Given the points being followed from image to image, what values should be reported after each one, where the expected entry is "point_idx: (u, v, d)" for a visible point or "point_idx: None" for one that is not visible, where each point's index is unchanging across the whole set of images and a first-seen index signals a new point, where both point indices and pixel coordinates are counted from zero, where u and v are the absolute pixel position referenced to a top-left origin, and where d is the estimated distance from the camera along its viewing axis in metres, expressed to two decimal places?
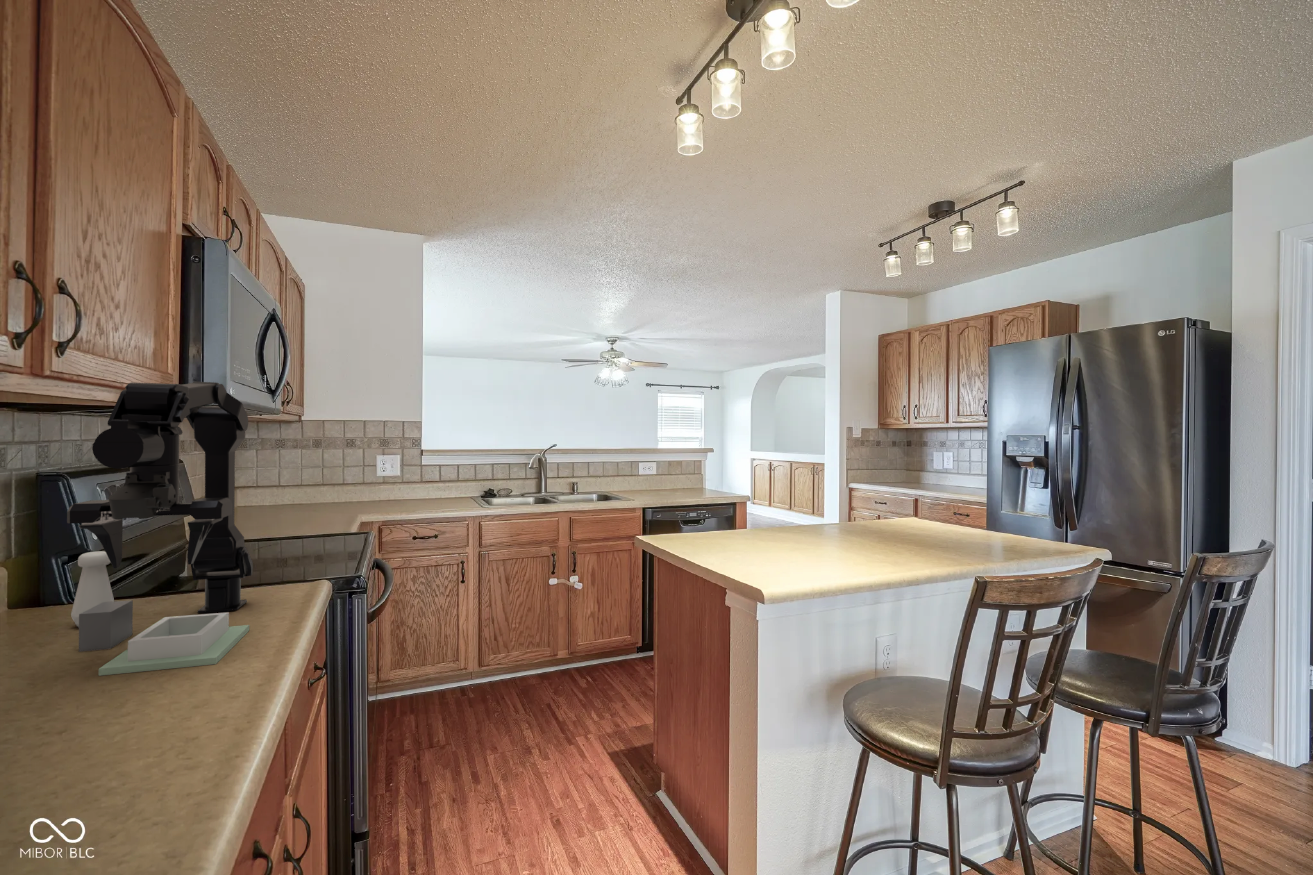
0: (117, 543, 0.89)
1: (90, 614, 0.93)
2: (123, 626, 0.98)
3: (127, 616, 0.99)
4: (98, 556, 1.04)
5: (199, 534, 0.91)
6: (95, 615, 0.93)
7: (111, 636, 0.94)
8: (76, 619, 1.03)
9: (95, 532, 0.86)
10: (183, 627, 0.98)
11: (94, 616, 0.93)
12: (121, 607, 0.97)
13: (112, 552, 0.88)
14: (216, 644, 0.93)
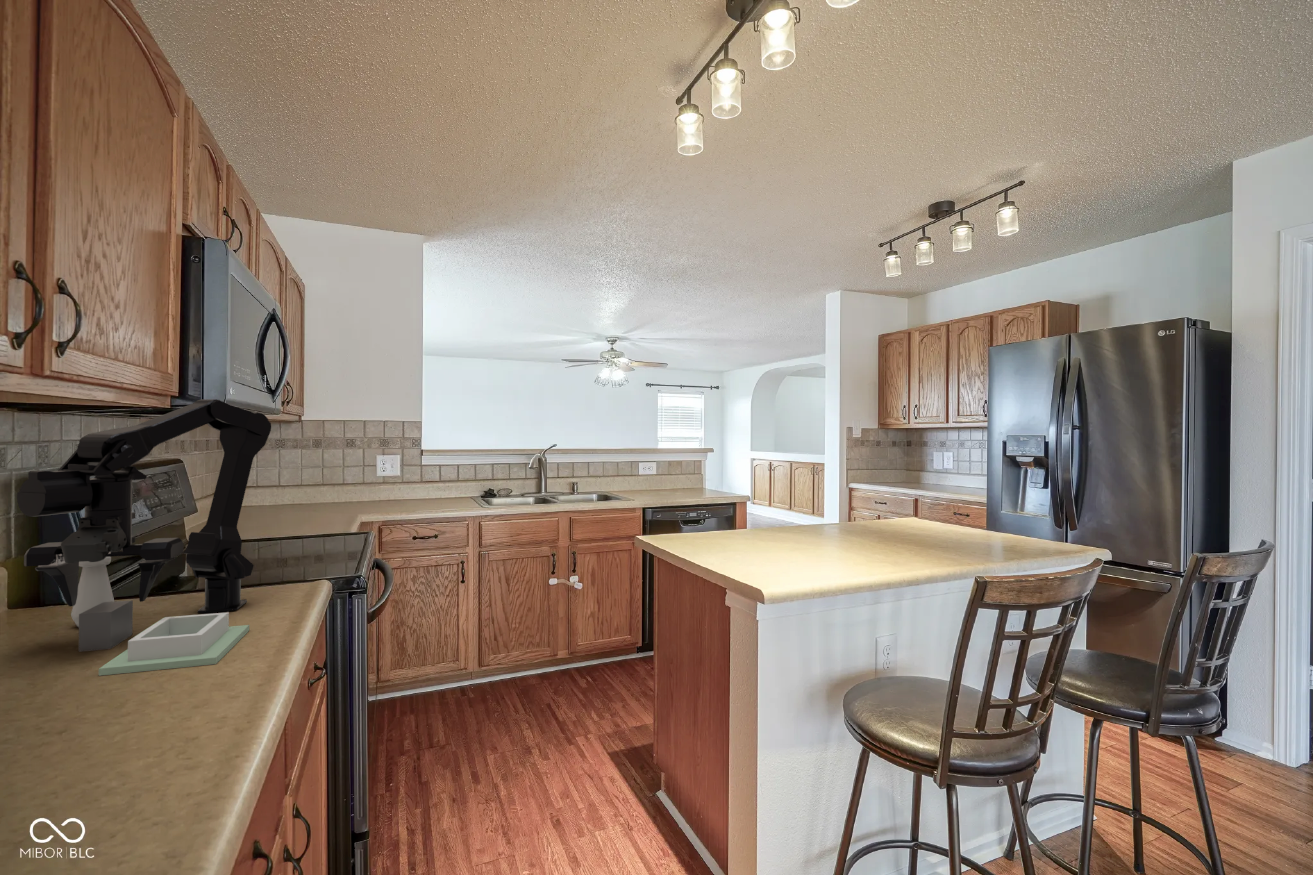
0: (73, 583, 0.95)
1: (90, 614, 0.93)
2: (123, 626, 0.98)
3: (127, 616, 0.99)
4: None
5: (150, 573, 0.97)
6: (95, 615, 0.93)
7: (111, 636, 0.94)
8: (76, 619, 1.03)
9: (51, 573, 0.93)
10: (183, 627, 0.98)
11: (94, 616, 0.93)
12: (121, 607, 0.97)
13: (67, 591, 0.94)
14: (216, 644, 0.93)
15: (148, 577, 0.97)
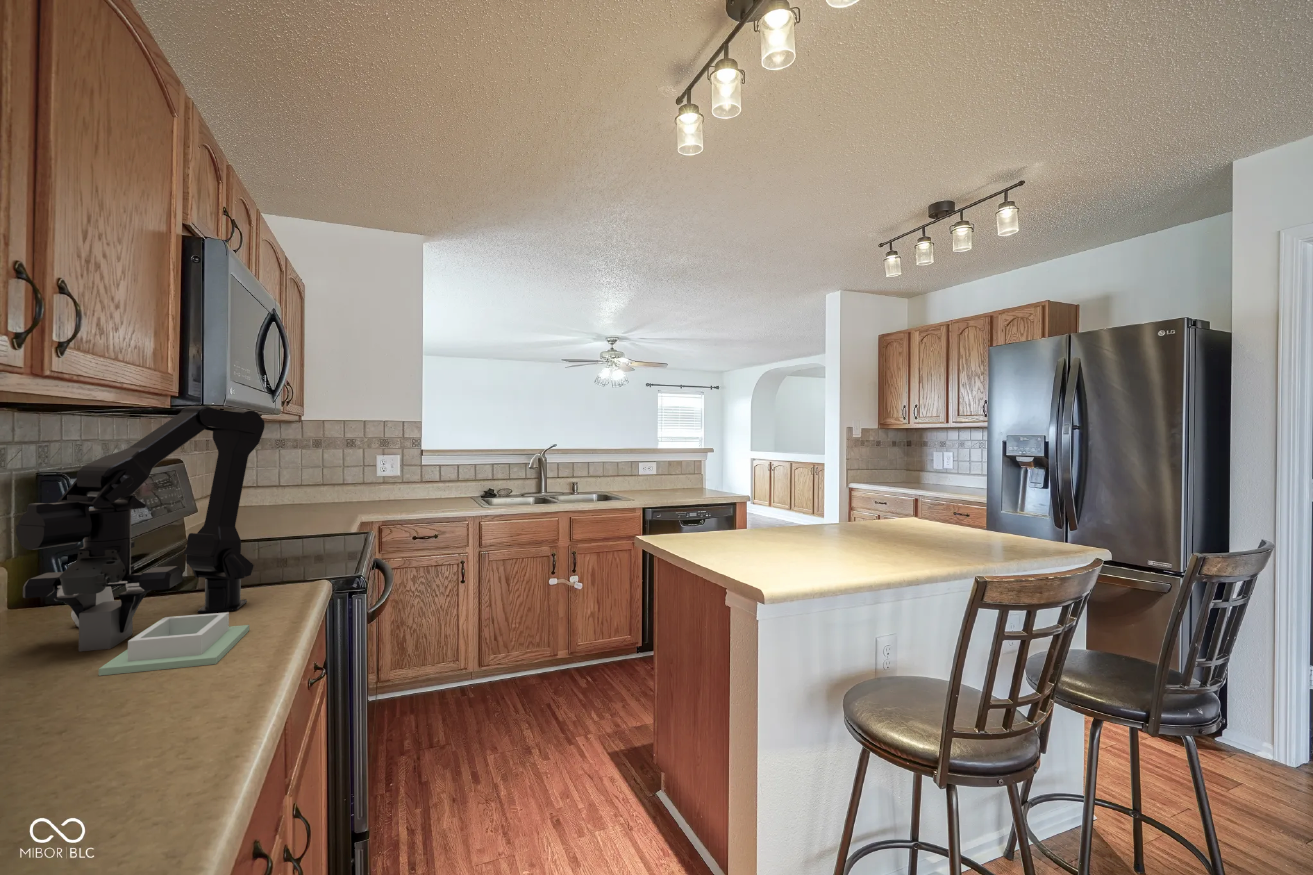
0: None
1: (90, 613, 0.93)
2: None
3: None
4: None
5: (131, 604, 0.97)
6: (95, 614, 0.93)
7: (111, 636, 0.94)
8: (76, 619, 1.03)
9: (69, 603, 0.93)
10: (183, 627, 0.98)
11: (94, 616, 0.93)
12: None
13: None
14: (216, 644, 0.93)
15: (129, 608, 0.97)
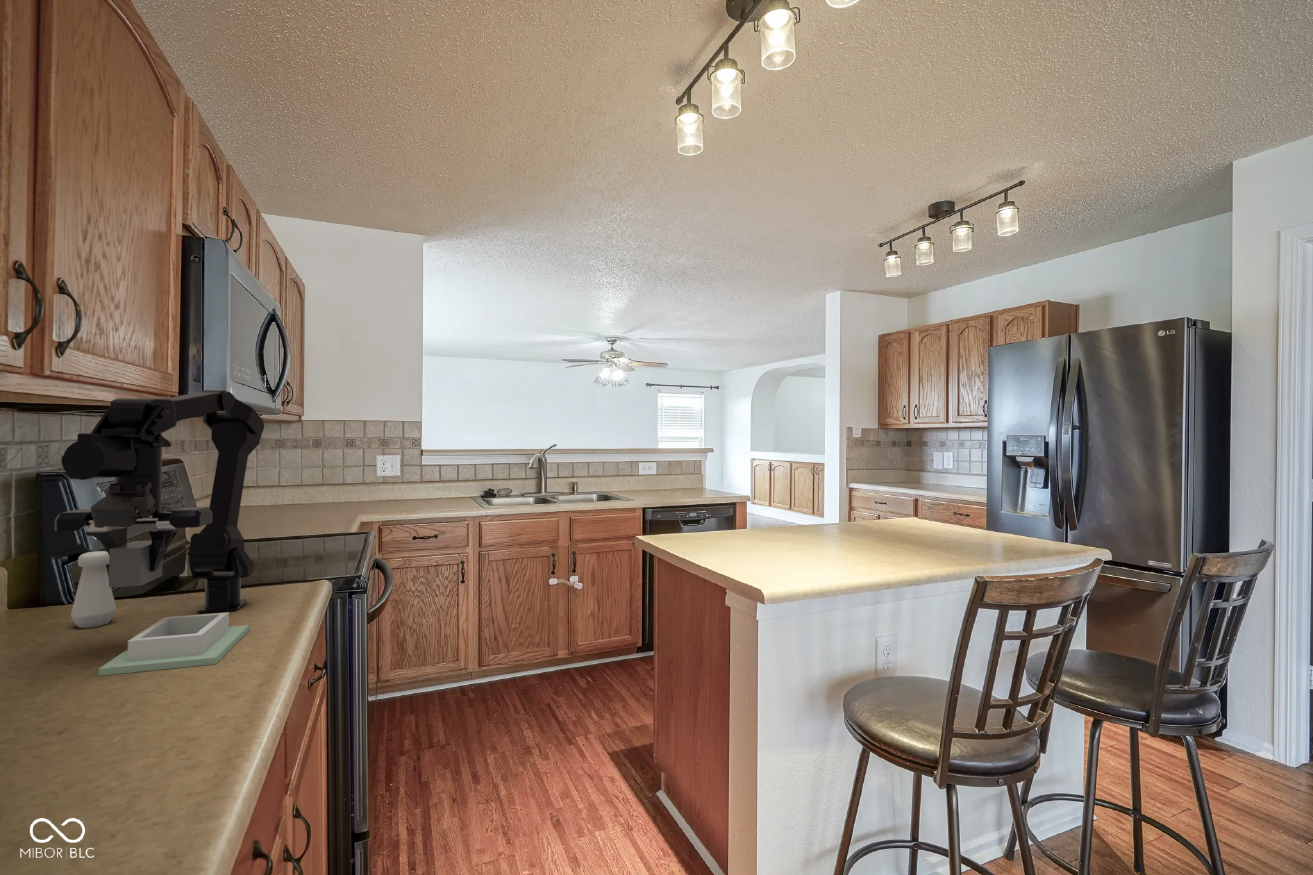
0: None
1: (120, 549, 0.92)
2: None
3: None
4: (98, 556, 1.04)
5: (161, 542, 0.95)
6: (125, 550, 0.92)
7: (141, 573, 0.93)
8: (76, 619, 1.03)
9: (100, 539, 0.92)
10: (183, 627, 0.98)
11: (124, 552, 0.92)
12: None
13: None
14: (216, 644, 0.93)
15: (159, 546, 0.95)
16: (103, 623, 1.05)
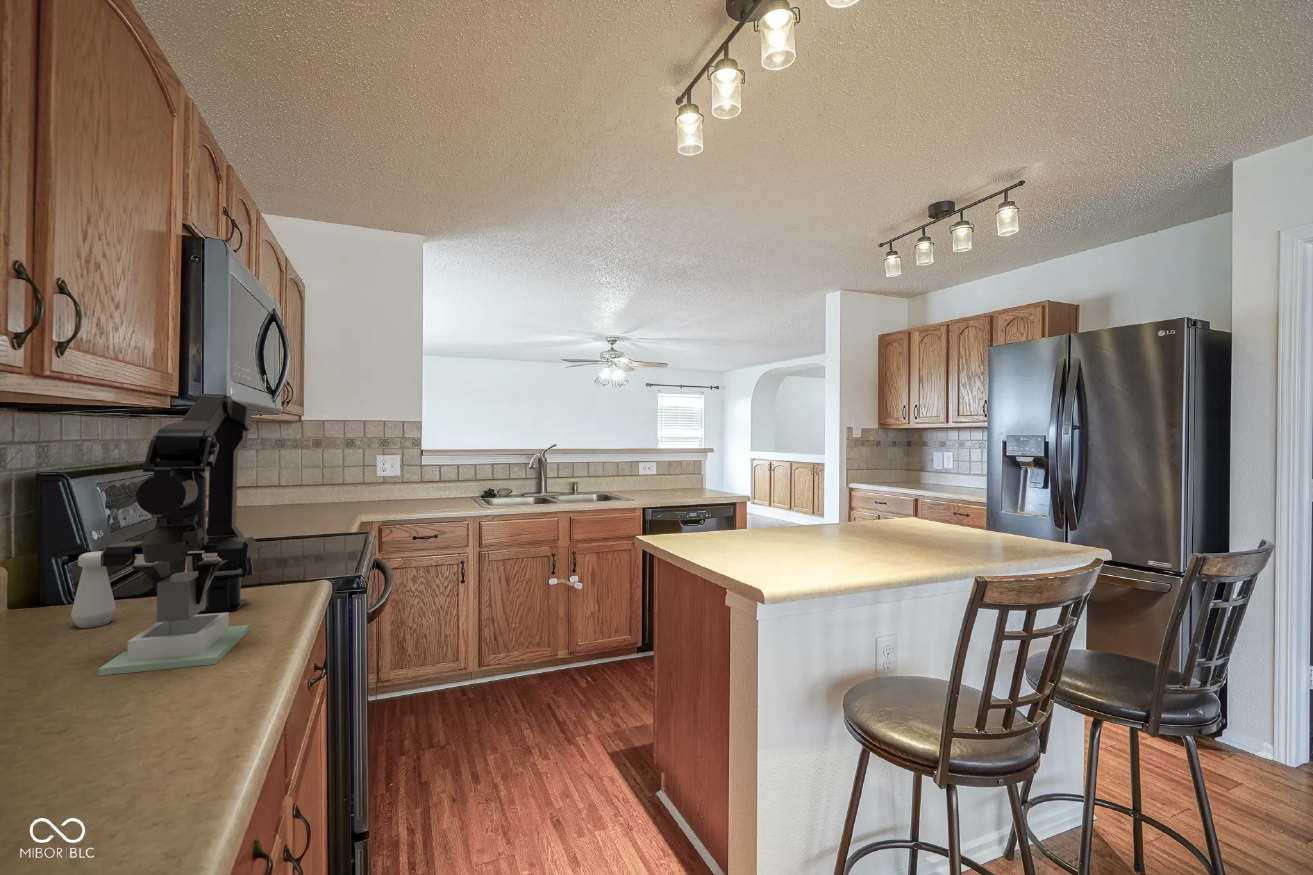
0: None
1: (168, 583, 0.90)
2: None
3: None
4: (98, 556, 1.04)
5: (207, 575, 0.93)
6: (173, 584, 0.90)
7: (189, 607, 0.91)
8: (76, 619, 1.03)
9: (146, 573, 0.90)
10: (183, 627, 0.98)
11: (172, 586, 0.90)
12: (197, 577, 0.94)
13: None
14: (216, 644, 0.93)
15: (205, 579, 0.93)
16: (103, 623, 1.05)
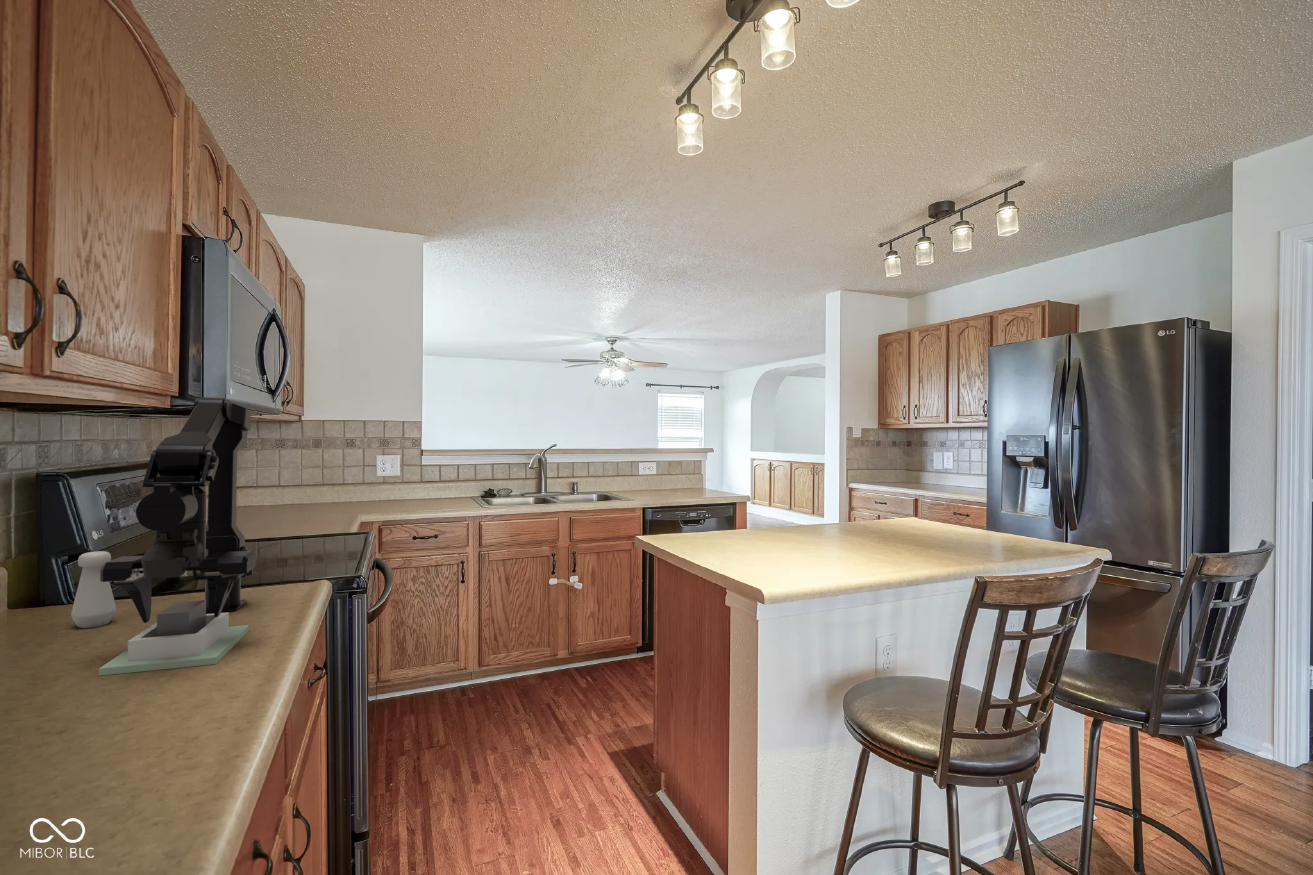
0: (147, 598, 0.92)
1: (168, 614, 0.90)
2: (198, 627, 0.95)
3: (201, 616, 0.96)
4: (98, 556, 1.04)
5: (225, 588, 0.94)
6: (173, 615, 0.90)
7: None
8: (76, 619, 1.03)
9: (126, 589, 0.89)
10: None
11: (171, 617, 0.90)
12: (197, 607, 0.94)
13: (142, 607, 0.91)
14: (216, 644, 0.93)
15: (223, 592, 0.94)
16: (103, 623, 1.05)
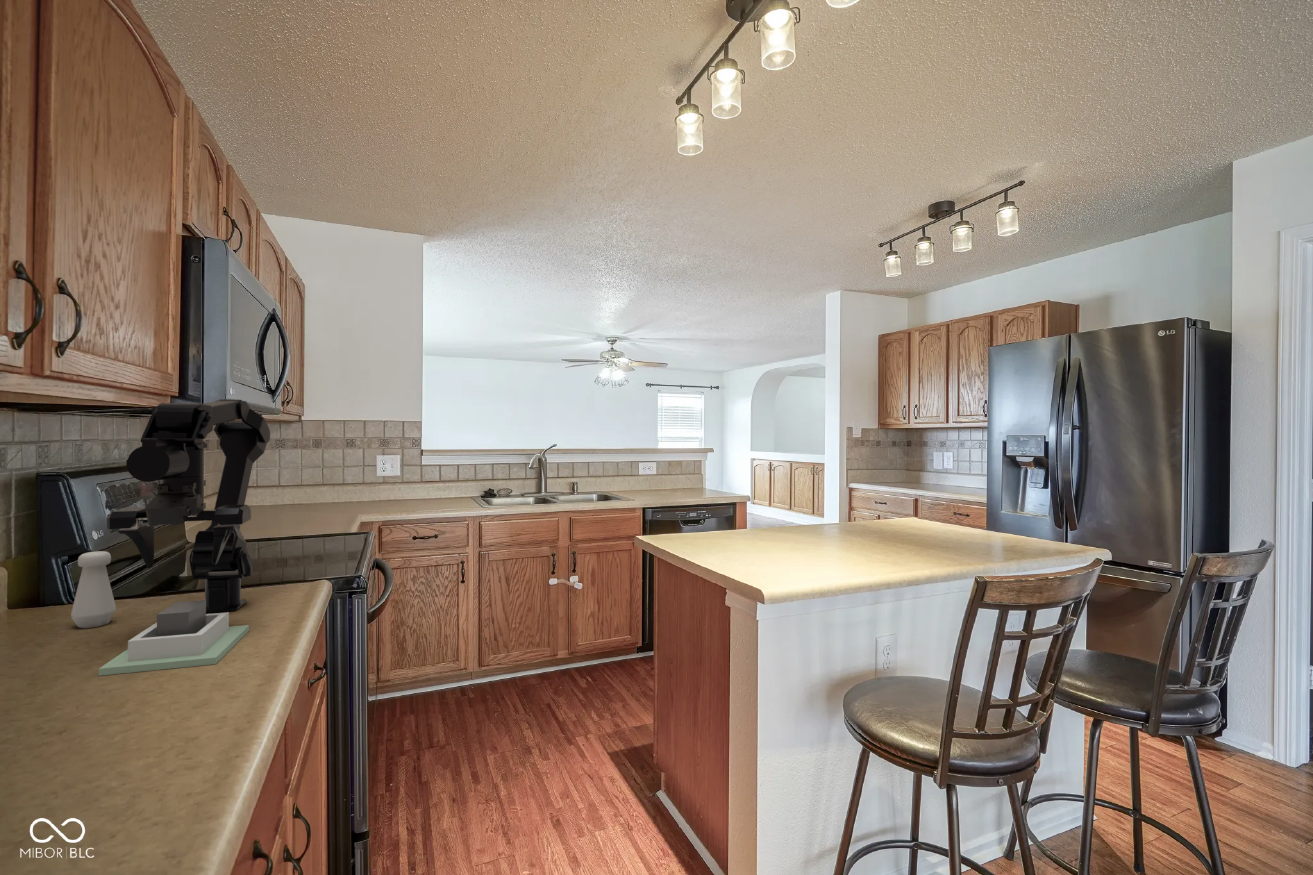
0: (150, 546, 1.00)
1: (168, 614, 0.90)
2: (198, 627, 0.95)
3: (201, 616, 0.96)
4: (98, 556, 1.04)
5: (222, 537, 1.02)
6: (173, 615, 0.90)
7: None
8: (76, 619, 1.03)
9: (131, 536, 0.97)
10: None
11: (171, 617, 0.90)
12: (197, 607, 0.94)
13: (146, 554, 0.99)
14: (216, 644, 0.93)
15: (221, 541, 1.02)
16: (103, 623, 1.05)
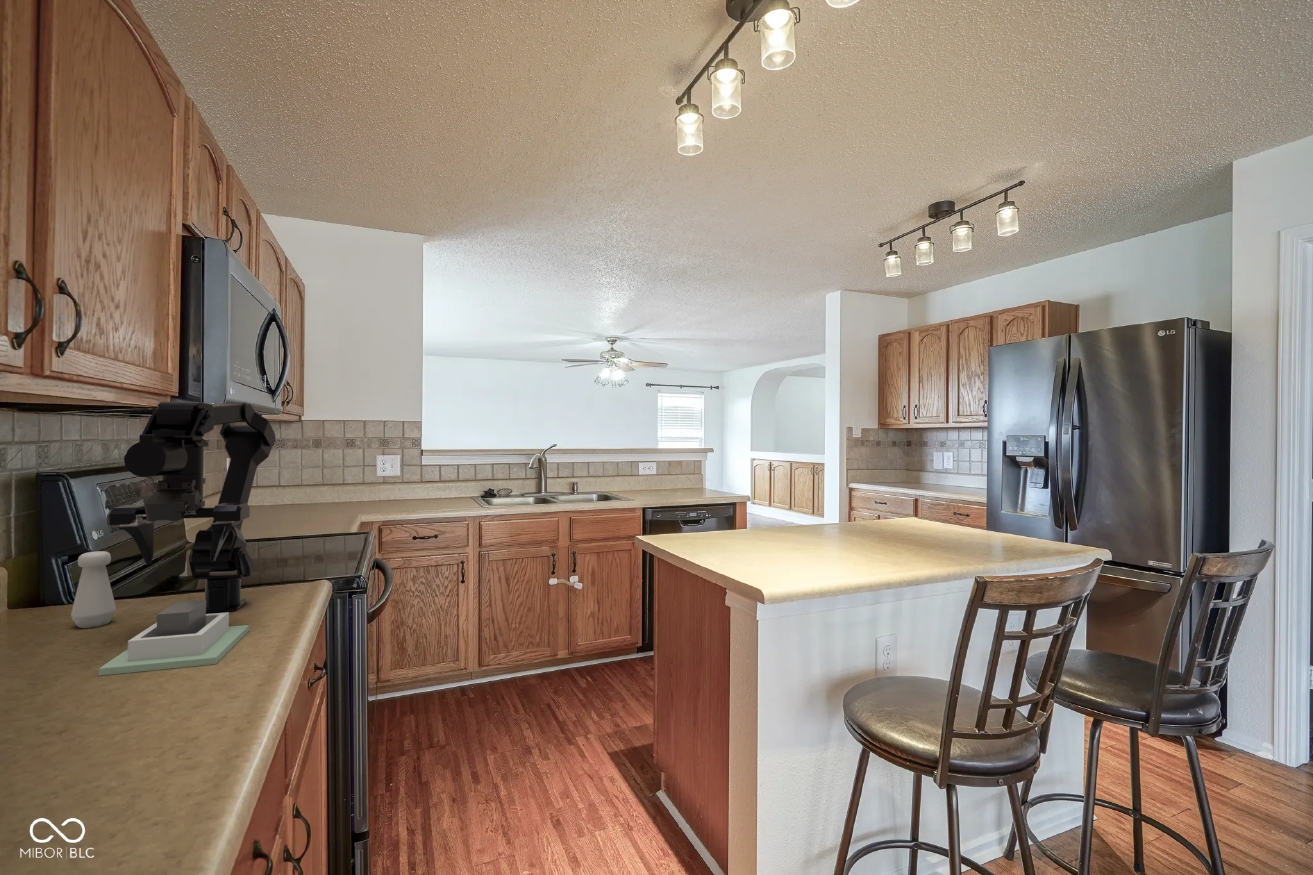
0: (149, 542, 1.01)
1: (168, 614, 0.90)
2: (198, 627, 0.95)
3: (201, 616, 0.96)
4: (98, 556, 1.04)
5: (221, 535, 1.03)
6: (173, 615, 0.90)
7: None
8: (76, 619, 1.03)
9: (131, 533, 0.98)
10: None
11: (171, 617, 0.90)
12: (197, 607, 0.94)
13: (145, 550, 1.00)
14: (216, 644, 0.93)
15: (219, 538, 1.03)
16: (103, 623, 1.05)
